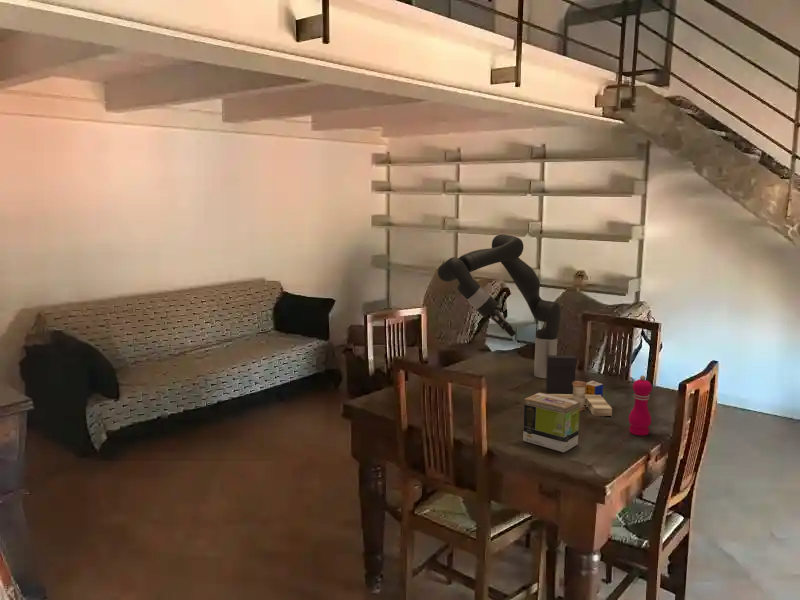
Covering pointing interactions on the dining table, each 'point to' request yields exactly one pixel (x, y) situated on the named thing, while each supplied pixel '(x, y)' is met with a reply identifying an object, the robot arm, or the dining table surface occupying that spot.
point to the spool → (579, 393)
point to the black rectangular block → (560, 374)
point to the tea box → (551, 421)
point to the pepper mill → (640, 408)
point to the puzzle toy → (594, 388)
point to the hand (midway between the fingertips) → (512, 332)
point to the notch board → (592, 404)
